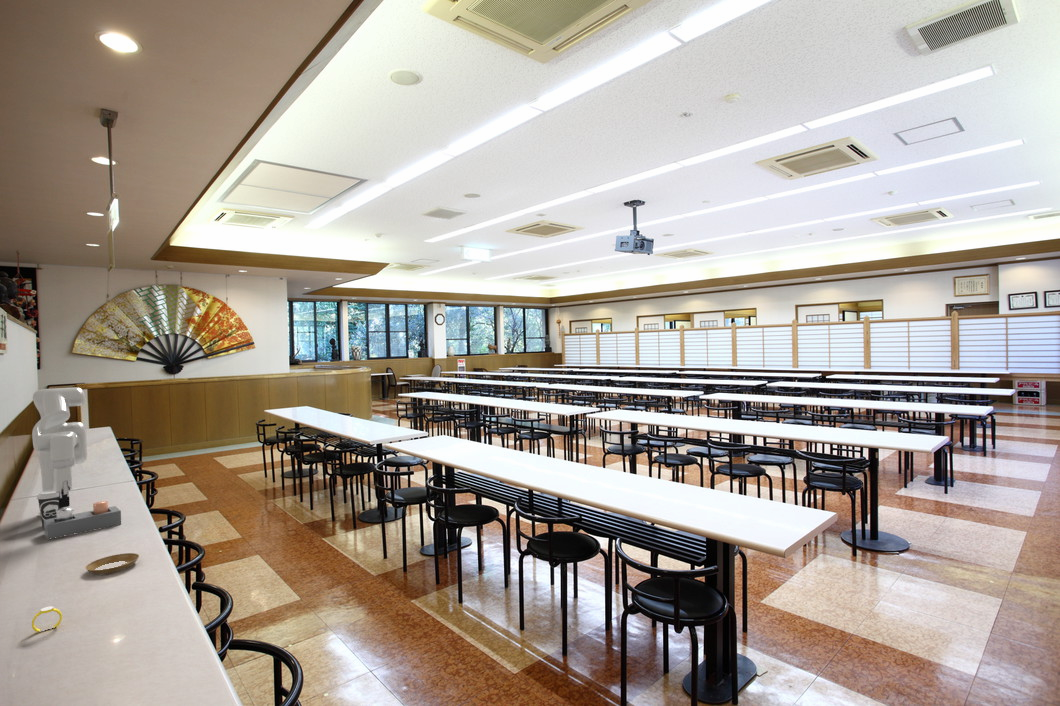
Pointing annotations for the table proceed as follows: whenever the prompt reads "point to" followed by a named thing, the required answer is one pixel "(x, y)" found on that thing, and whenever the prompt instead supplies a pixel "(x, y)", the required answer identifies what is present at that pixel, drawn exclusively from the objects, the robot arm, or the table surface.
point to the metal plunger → (64, 514)
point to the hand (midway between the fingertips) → (64, 506)
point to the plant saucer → (126, 557)
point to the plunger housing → (82, 523)
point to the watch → (46, 610)
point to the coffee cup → (48, 504)
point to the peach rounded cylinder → (100, 507)
